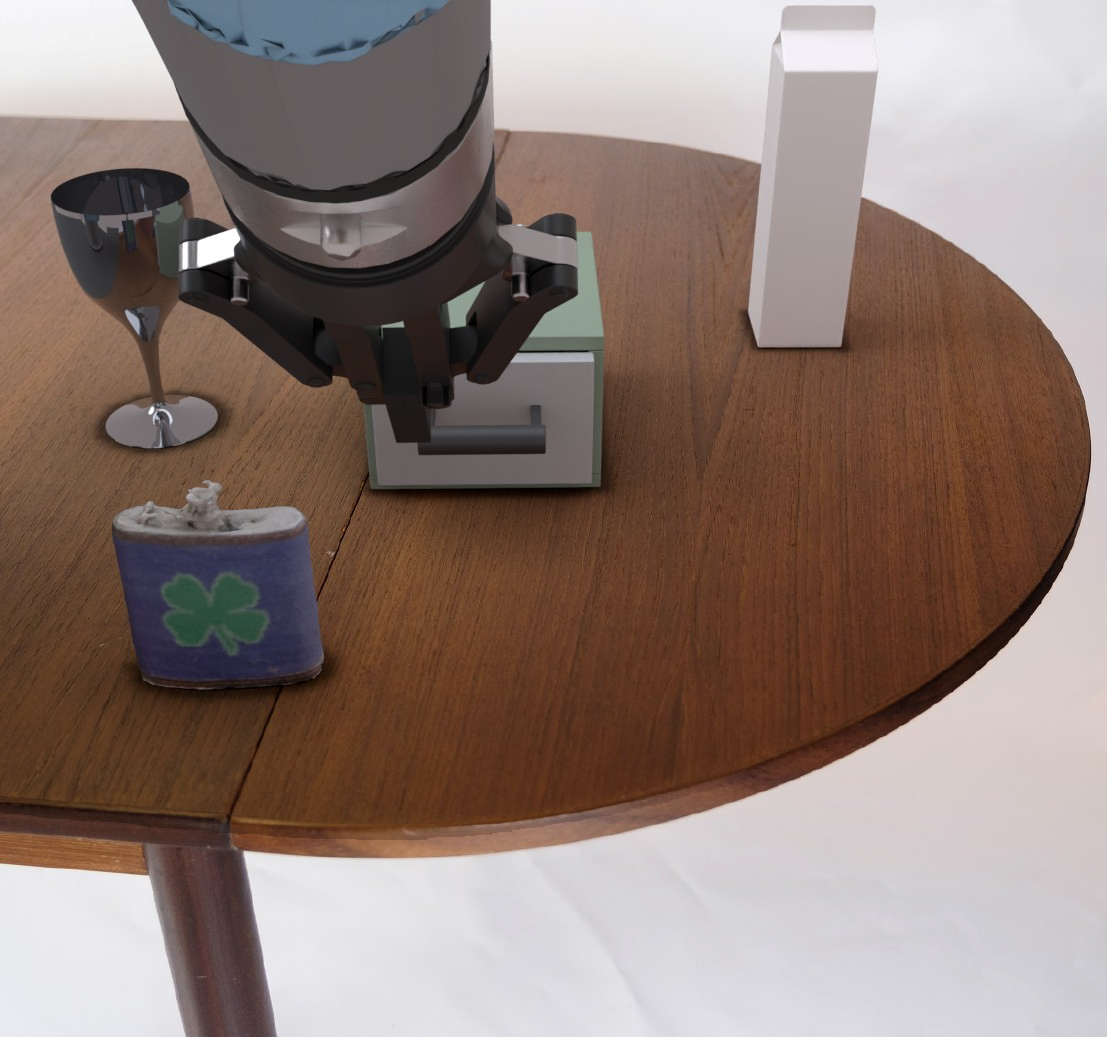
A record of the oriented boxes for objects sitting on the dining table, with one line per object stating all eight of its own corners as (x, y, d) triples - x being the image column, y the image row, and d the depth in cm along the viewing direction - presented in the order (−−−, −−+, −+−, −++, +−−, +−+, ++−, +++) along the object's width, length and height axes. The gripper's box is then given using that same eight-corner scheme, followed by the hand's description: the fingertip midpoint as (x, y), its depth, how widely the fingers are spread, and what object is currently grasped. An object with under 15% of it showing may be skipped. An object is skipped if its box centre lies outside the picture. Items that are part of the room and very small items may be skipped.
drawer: (595, 522, 82) (598, 396, 77) (372, 525, 81) (361, 398, 77) (581, 372, 97) (583, 259, 92) (393, 374, 96) (385, 260, 92)
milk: (747, 314, 107) (774, -7, 93) (829, 313, 107) (867, -8, 94) (757, 349, 102) (787, 16, 89) (843, 348, 102) (885, 15, 89)
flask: (327, 653, 73) (305, 469, 67) (321, 689, 71) (297, 503, 65) (145, 655, 73) (105, 471, 67) (133, 691, 71) (90, 504, 64)
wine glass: (142, 385, 97) (100, 161, 88) (247, 403, 95) (215, 176, 86) (73, 439, 91) (21, 205, 82) (183, 460, 89) (142, 223, 80)
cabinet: (600, 487, 87) (604, 335, 81) (370, 489, 86) (357, 337, 80) (588, 369, 99) (591, 230, 93) (387, 371, 99) (377, 232, 93)
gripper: (103, 282, 38) (260, 500, 61) (601, 277, 38) (567, 495, 61) (108, 14, 39) (260, 329, 62) (594, 11, 39) (563, 326, 62)
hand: (413, 411), depth 62 cm, fingers closed
